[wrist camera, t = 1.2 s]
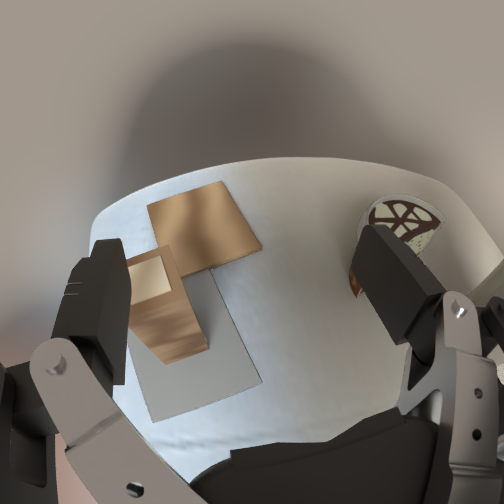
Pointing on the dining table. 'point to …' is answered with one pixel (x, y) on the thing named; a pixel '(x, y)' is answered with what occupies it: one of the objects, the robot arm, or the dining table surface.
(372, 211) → the food container
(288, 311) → the dining table surface
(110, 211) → the dining table surface
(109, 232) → the dining table surface
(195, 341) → the walnut block
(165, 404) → the tile
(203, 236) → the cork pad
